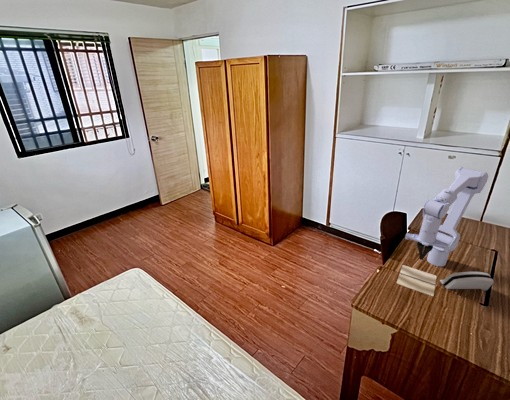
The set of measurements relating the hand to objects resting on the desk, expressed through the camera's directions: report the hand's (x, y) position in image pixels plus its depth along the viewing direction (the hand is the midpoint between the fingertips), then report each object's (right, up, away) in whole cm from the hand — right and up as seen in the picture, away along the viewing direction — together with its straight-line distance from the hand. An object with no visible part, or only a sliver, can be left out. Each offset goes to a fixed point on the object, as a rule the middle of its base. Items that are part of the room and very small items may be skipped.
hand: (421, 258), depth 112 cm
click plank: (-3, -11, -1) cm, 12 cm away
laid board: (+1, -9, +4) cm, 10 cm away
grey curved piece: (+16, -12, -2) cm, 20 cm away
